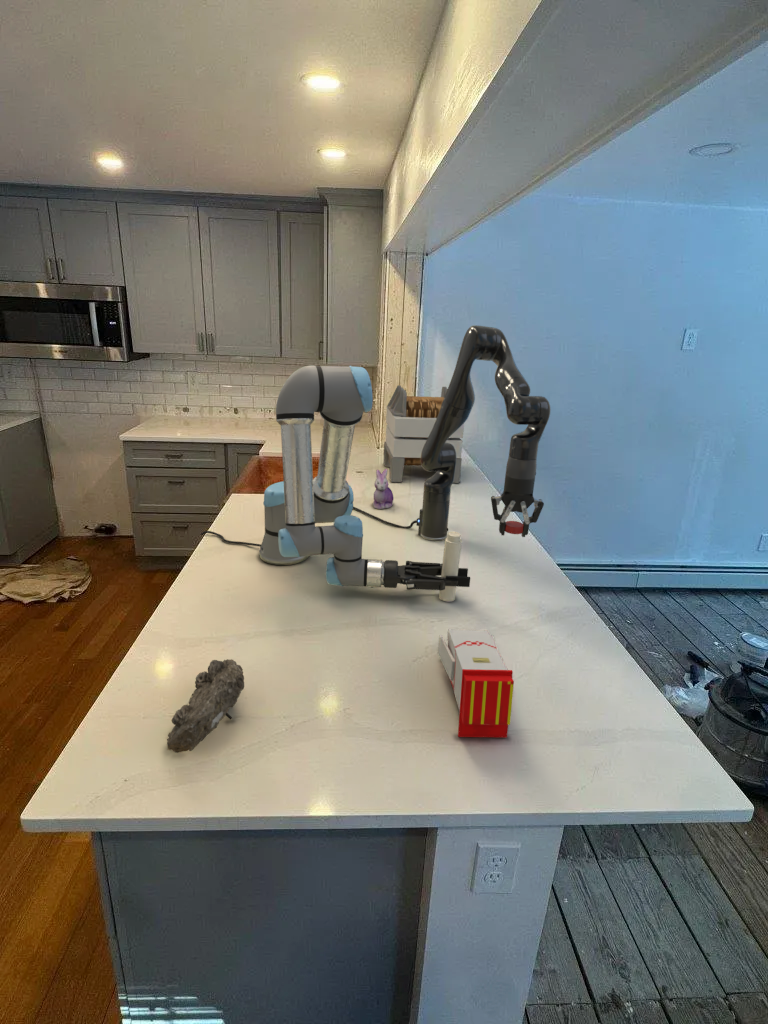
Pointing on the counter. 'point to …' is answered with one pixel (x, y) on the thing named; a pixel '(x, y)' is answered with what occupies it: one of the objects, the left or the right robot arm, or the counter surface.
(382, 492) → the figurine
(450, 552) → the jar
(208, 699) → the fossil
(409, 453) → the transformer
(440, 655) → the toy
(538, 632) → the counter surface
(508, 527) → the lid
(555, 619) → the counter surface
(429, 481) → the right robot arm
